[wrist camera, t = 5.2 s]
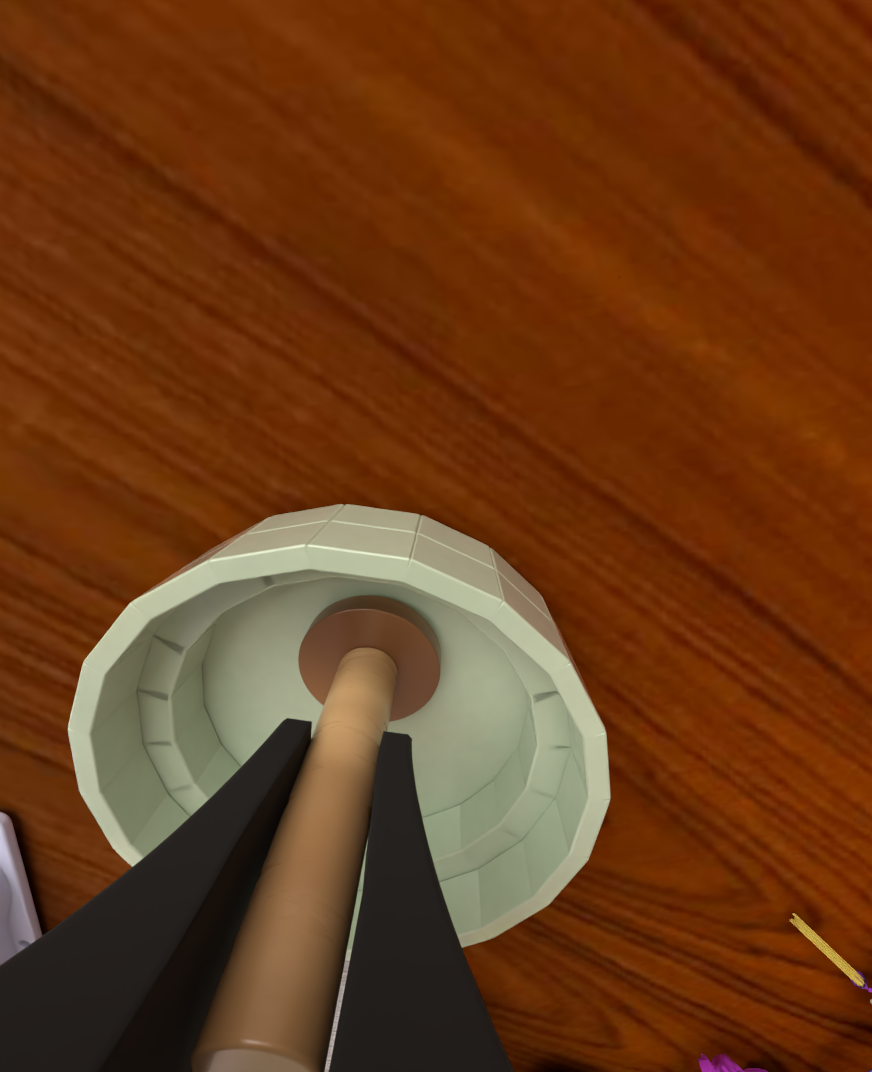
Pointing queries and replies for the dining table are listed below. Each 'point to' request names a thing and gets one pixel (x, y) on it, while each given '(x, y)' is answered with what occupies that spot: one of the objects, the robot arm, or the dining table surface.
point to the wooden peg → (318, 843)
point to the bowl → (279, 693)
